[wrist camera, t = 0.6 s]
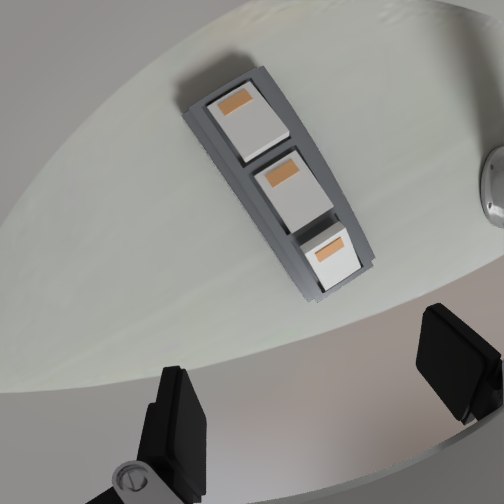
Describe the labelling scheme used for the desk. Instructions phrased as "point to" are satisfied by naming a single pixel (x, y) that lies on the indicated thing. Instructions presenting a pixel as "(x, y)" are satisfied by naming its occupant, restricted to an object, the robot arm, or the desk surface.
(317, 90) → the desk surface
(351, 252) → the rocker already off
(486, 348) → the robot arm
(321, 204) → the rocker middle
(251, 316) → the desk surface
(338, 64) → the desk surface
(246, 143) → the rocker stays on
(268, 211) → the rocker switch panel
